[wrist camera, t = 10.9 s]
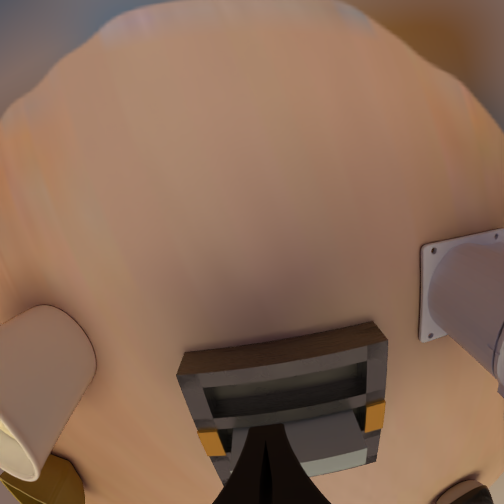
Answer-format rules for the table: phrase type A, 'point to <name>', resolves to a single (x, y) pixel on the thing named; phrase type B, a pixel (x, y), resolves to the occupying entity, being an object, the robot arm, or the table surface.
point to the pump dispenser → (467, 494)
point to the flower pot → (48, 484)
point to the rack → (286, 386)
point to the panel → (317, 442)
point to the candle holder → (39, 385)
